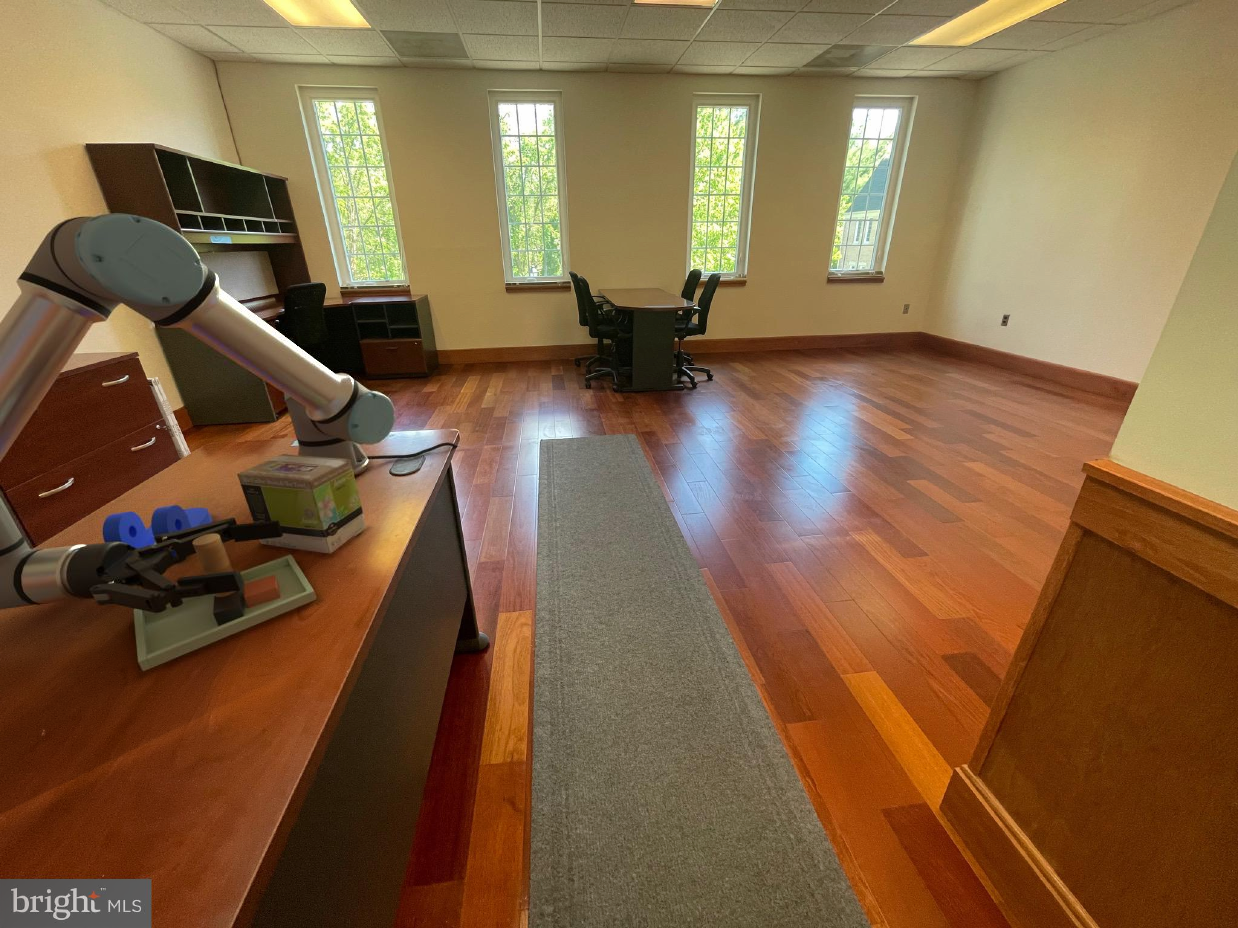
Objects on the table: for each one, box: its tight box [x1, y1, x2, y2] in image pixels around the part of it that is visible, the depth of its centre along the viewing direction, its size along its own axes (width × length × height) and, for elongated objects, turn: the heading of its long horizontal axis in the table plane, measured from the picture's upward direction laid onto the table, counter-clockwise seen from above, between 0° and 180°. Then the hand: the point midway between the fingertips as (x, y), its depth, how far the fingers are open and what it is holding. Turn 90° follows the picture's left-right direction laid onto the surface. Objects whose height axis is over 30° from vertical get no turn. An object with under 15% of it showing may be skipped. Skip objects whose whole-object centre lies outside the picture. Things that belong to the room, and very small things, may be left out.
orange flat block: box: [244, 575, 280, 608], centre depth 73 cm, size 4×4×2 cm
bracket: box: [102, 504, 213, 557], centre depth 86 cm, size 18×8×9 cm, turn 22°
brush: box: [192, 534, 245, 627], centre depth 69 cm, size 3×10×12 cm, turn 36°
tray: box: [133, 554, 317, 672], centre depth 70 cm, size 20×14×2 cm
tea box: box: [236, 453, 367, 554], centre depth 87 cm, size 15×10×15 cm, turn 78°
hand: (261, 552), depth 70 cm, fingers open, 13 cm apart
